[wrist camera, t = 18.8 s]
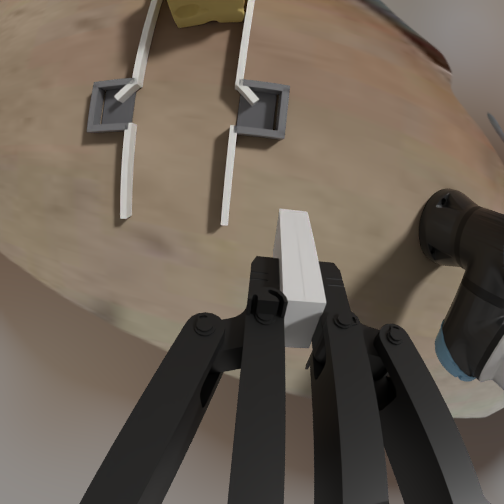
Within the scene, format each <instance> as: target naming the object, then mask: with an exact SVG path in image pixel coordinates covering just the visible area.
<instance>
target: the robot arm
mask: <svg viewBox="0 0 504 504" xmlns="http://www.w3.org/2000/svg"><path fill="white" fill-rule="evenodd" d="M419 239H420V245H421V248H422V250H423V252H424V254H425V255H426V256H427V258H429V259H430V260H432V261H433V262H435V263H437V264H439V265H445V266H456V267H461V268H463V269H465V273H464V276H463V279H462V281H461V283H460V286H459V288H458V291H457V293H456V295H455V298H454V300H453V302H452V304H451V307H450V309H449V311H448V313H447V315H446V317H445V319H444V320H443V321H442V324H441V328H440V331H439V333H438V335H437V337H436V340H435V351H436V355H437V357H438V359H439V361H440V362H441V364H442V365H443V366H444V368H445V369H446V370H447V371H448V372H449V373H450V374H452V375H453V376H454V377H457V376H458V377H459V379H460V380H462V381H472V380H474V379H476V378H477V379H478V380H479V381H480V382H484V381H488V380H493V381H494V382H495V383H496V384H498V385H499V386H500V387H501V388H502V389H503V390H504V214H501V213H498V212H495V211H492V210H489V209H486V208H483V207H480V206H478V205H477V204H475V203H474V202H473V201H472V200H471V199H469V198H468V197H467V196H466V195H465V194H463V193H462V192H460V191H457V190H453V189H442V190H440V191H438V192H437V193H435V194H434V195H433V196H432V197H431V198H430V200H429V201H428V203H427V204H426V206H425V208H424V211H423V213H422V216H421V220H420V227H419ZM311 341H312V348H313V350H312V353H311V355H310V357H309V359H308V362H307V364H306V368H305V369H308V368H309V366H310V372H311V388H312V407H313V432H314V504H389V500H388V484H387V472H386V462H385V452H384V448H385V450H386V453H387V456H388V458H389V461H390V464H391V466H392V469H393V472H394V475H395V477H396V480H397V483H398V486H399V489H400V491H401V494H402V497H403V500H404V503H405V504H491V503H490V502H489V501H488V500H487V499H486V498H485V497H484V496H483V493H482V490H481V487H480V484H479V481H478V478H477V475H476V472H475V469H474V467H473V464H472V462H471V459H470V456H469V454H468V452H467V449H466V447H465V445H464V442H463V440H462V437H461V435H460V433H459V430H458V428H457V426H456V424H455V422H454V420H453V417H452V415H451V413H450V411H449V409H448V407H447V405H446V403H445V401H444V399H443V397H442V395H441V393H440V391H439V389H438V387H437V385H436V383H435V381H434V380H433V378H432V376H431V374H430V372H429V370H428V368H427V367H426V365H425V363H424V361H423V359H422V358H421V356H420V354H419V352H418V351H417V349H416V347H415V346H414V344H413V342H412V340H411V339H410V337H409V335H408V334H407V333H406V331H405V330H404V329H403V328H401V327H400V326H398V325H395V324H386V325H384V326H383V327H382V328H381V329H380V330H377V329H374V328H371V327H367V326H365V325H363V324H361V323H360V321H359V319H358V317H357V316H356V315H355V314H354V313H353V312H351V311H350V307H349V303H348V299H347V295H346V291H345V287H344V284H343V280H342V276H341V273H340V270H339V269H338V268H337V266H336V265H335V264H334V263H330V262H319V261H318V257H317V252H316V247H315V243H314V238H313V234H312V229H311V225H310V221H309V216H308V212H305V211H297V210H288V209H279V215H278V222H277V229H276V236H275V243H274V250H273V258H270V257H260V256H257V257H256V258H255V259H254V260H253V262H252V263H251V273H250V283H249V292H248V301H247V307H246V309H245V310H244V312H243V313H241V314H240V315H238V316H236V317H233V318H230V319H223V320H221V319H220V317H218V316H216V315H214V314H212V313H206V312H205V313H198V314H196V315H194V316H192V317H191V318H190V319H189V320H188V321H187V322H186V324H185V325H184V327H183V329H182V330H181V332H180V333H179V335H178V337H177V338H176V340H175V342H174V343H173V345H172V346H171V348H170V350H169V351H168V353H167V355H166V356H165V358H164V359H163V361H162V363H161V364H160V366H159V368H158V369H157V371H156V373H155V374H154V376H153V378H152V379H151V381H150V383H149V384H148V386H147V388H146V389H145V391H144V393H143V394H142V396H141V398H140V399H139V401H138V403H137V404H136V406H135V408H134V409H133V411H132V413H131V414H130V416H129V418H128V420H127V421H126V423H125V425H124V426H123V428H122V430H121V432H120V433H119V435H118V436H117V438H116V440H115V442H114V443H113V445H112V447H111V449H110V450H109V452H108V454H107V456H106V457H105V459H104V461H103V463H102V465H101V466H100V468H99V470H98V471H97V473H96V475H95V477H94V478H93V480H92V482H91V484H90V486H89V487H88V489H87V491H86V493H85V495H84V496H83V498H82V500H81V502H80V504H162V502H163V500H164V497H165V496H166V494H167V492H168V489H169V488H170V485H171V483H172V481H173V479H174V477H175V475H176V473H177V471H178V469H179V467H180V465H181V463H182V460H183V459H184V456H185V454H186V452H187V450H188V448H189V446H190V444H191V442H192V439H193V438H194V435H195V433H196V431H197V429H198V427H199V425H200V422H201V420H202V418H203V416H204V414H205V412H206V410H207V407H208V405H209V403H210V401H211V399H212V397H213V394H214V392H215V390H216V388H217V385H218V383H219V381H220V379H221V377H222V374H223V372H225V371H230V370H235V369H241V372H240V383H239V392H238V403H237V413H236V423H235V434H234V443H233V453H232V464H231V473H230V484H229V494H228V504H284V475H285V472H284V471H285V347H294V348H309V346H310V344H311Z"/></svg>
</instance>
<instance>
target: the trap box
mask: <svg viewBox="0 0 504 504" xmlns="http://www.w3.org/2000/svg"><path fill="white" fill-rule="evenodd" d="M162 1H163V0H152V1H151V4H150V7H149V10H148V13H147V17H146V20H145V24H144V28H143V31H142V35H141V39H140V43H139V47H138V52H137V56H136V61H135V66H134V71H133V76H132V78H125V79H115V80H106V81H99V82H94V85H93V90H92V96H91V102H90V109H89V117H88V125H87V132H90V133H102V132H121V131H124V142H123V154H122V169H121V194H120V219H127V218H128V217H130V216H132V185H133V166H134V152H135V141H136V131H137V124H134V123H132V118H133V110H134V103H135V97H136V91H137V90H139V89H140V88H142V87H143V81H144V75H145V70H146V65H147V60H148V55H149V50H150V46H151V41H152V37H153V33H154V29H155V25H156V22H157V18H158V14H159V11H160V7H161V4H162ZM254 2H255V0H248V3H247V9H246V15H245V22H244V28H243V34H242V41H241V48H240V55H239V62H238V69H237V76H236V82H235V89H236V90H238V91H239V93H240V102H239V111H238V119H237V126H233V125H230V133H229V142H228V151H227V161H226V171H225V181H224V192H223V203H222V215H221V225H228V217H229V206H230V195H231V185H232V175H233V165H234V156H235V146H236V137H237V135H245V136H254V137H263V138H271V139H278V140H282V139H284V137H285V128H286V119H287V110H288V100H289V90H290V86H288V85H282V84H276V83H269V82H262V81H254V80H245V79H244V71H245V64H246V56H247V49H248V42H249V35H250V28H251V21H252V15H253V8H254ZM106 90H107V91H106ZM105 91H106V97H105V103H104V110H103V118H102V124H100V121H101V113H102V106H103V99H104V93H105ZM276 95H279V100H278V109H277V118H276V127H275V130H273V123H274V114H275V104H276Z"/></svg>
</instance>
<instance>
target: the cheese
mask: <svg viewBox="0 0 504 504" xmlns="http://www.w3.org/2000/svg"><path fill="white" fill-rule="evenodd" d="M167 2H168V5H169V8H170V10H171V13H172V16H173V19H174V21H175V23H176V25H177V26H178V28H183V27H189V26H195V25H201V24H205V23H207V22H209V21H213V20H215V21H218V22H220V23H223V22H242V21H243V19H244V8H243V6H244V2H245V0H167Z"/></svg>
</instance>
